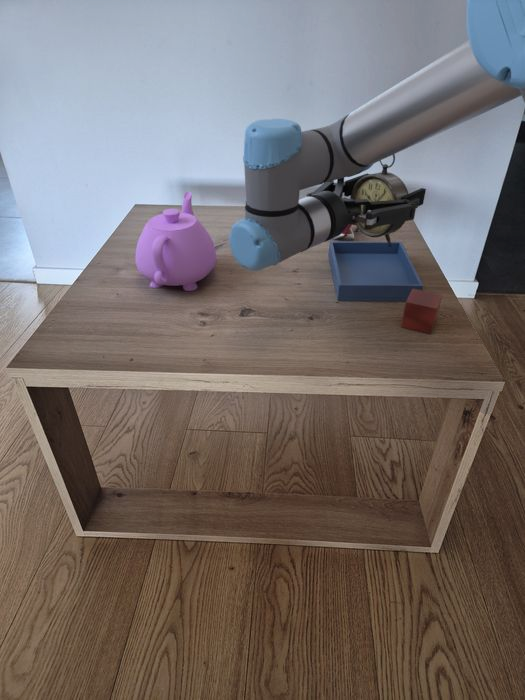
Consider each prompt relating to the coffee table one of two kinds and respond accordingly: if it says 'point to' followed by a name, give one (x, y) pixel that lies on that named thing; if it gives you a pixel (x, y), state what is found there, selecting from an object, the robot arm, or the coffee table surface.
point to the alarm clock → (379, 197)
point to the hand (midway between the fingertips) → (394, 188)
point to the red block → (421, 311)
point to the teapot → (175, 248)
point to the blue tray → (372, 271)
